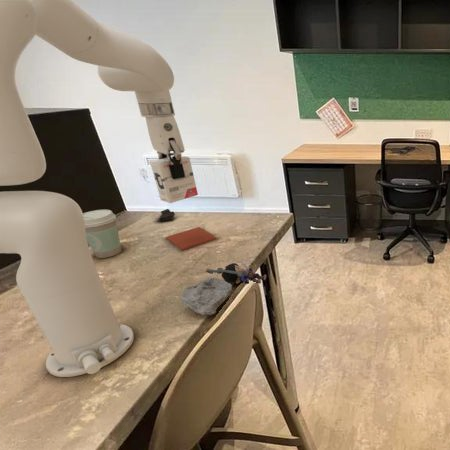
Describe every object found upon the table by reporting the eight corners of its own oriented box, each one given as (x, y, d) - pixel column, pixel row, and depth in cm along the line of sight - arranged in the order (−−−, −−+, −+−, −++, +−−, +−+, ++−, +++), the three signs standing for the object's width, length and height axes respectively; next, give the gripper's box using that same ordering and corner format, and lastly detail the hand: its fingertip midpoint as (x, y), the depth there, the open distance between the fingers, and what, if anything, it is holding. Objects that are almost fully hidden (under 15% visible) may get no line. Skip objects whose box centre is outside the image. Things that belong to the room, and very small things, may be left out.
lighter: (178, 211, 125) (163, 215, 125) (175, 206, 124) (160, 210, 124) (173, 220, 119) (157, 225, 118) (170, 215, 118) (154, 220, 117)
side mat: (216, 239, 107) (216, 237, 107) (182, 250, 100) (181, 248, 100) (199, 228, 114) (198, 226, 114) (166, 238, 107) (165, 236, 107)
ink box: (188, 192, 105) (179, 154, 100) (199, 195, 103) (189, 156, 98) (160, 200, 98) (148, 160, 93) (170, 203, 96) (159, 162, 91)
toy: (262, 258, 83) (208, 250, 86) (252, 282, 80) (196, 273, 83) (272, 267, 88) (220, 259, 91) (262, 291, 85) (209, 281, 88)
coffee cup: (88, 252, 98) (72, 213, 93) (124, 243, 103) (112, 206, 98) (91, 263, 92) (74, 223, 87) (129, 253, 98) (116, 215, 93)
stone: (214, 261, 78) (216, 288, 71) (236, 277, 83) (239, 304, 75) (180, 286, 77) (178, 316, 70) (203, 301, 82) (203, 331, 74)
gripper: (186, 111, 88) (201, 179, 96) (160, 106, 98) (176, 168, 105) (153, 114, 83) (172, 185, 90) (129, 108, 93) (148, 172, 100)
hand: (174, 175), depth 98 cm, fingers closed on ink box, 5 cm apart
